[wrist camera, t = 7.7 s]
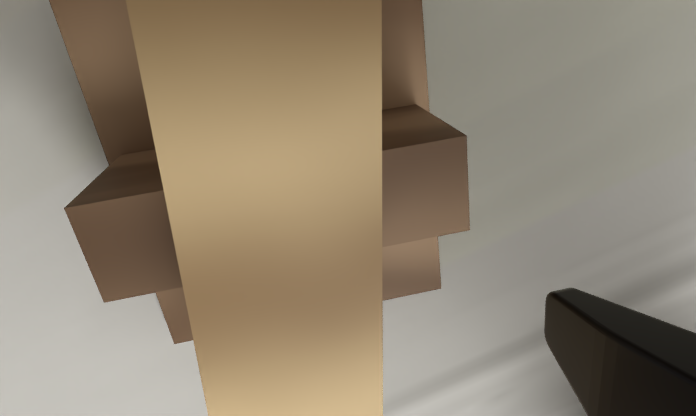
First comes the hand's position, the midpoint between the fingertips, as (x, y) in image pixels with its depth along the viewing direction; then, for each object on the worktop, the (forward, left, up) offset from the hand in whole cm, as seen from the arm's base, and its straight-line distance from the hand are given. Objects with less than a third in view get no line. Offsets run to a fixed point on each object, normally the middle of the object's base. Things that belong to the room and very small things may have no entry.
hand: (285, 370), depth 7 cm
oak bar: (0, 0, -6) cm, 6 cm away
